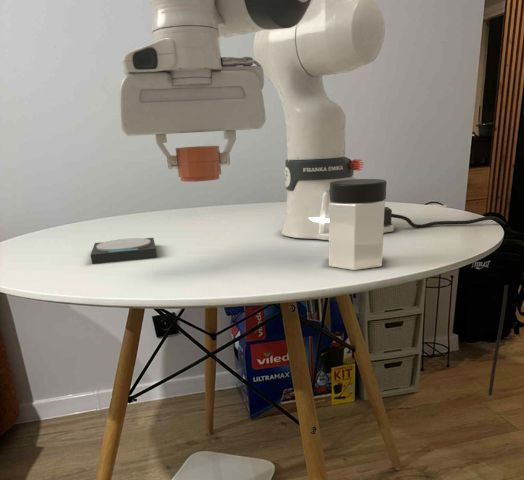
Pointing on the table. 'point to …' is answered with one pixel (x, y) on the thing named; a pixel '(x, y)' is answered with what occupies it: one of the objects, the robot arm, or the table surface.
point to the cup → (198, 163)
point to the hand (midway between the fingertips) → (198, 167)
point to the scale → (123, 250)
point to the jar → (356, 223)
